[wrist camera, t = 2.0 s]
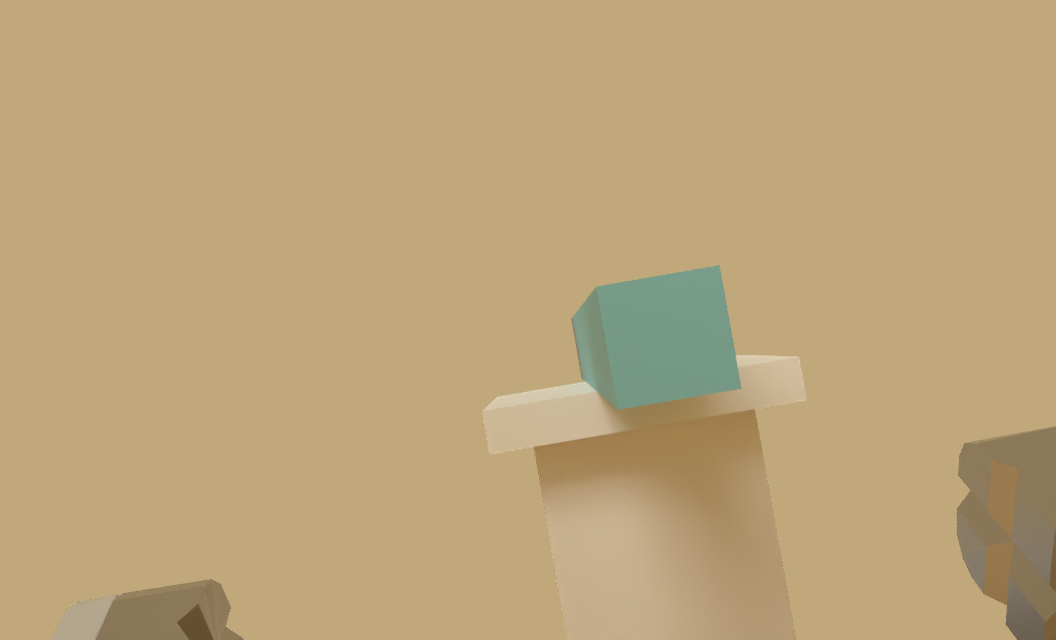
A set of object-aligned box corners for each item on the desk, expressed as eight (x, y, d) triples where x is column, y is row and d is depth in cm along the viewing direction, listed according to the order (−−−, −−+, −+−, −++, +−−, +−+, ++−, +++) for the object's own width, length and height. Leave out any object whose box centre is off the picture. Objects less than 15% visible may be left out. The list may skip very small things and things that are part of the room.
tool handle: (741, 388, 23) (719, 264, 23) (617, 409, 23) (596, 286, 23) (641, 367, 48) (630, 308, 48) (581, 378, 48) (571, 318, 48)
